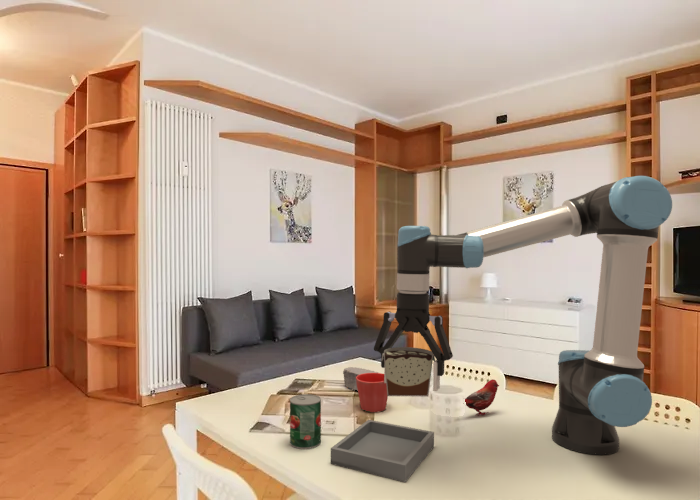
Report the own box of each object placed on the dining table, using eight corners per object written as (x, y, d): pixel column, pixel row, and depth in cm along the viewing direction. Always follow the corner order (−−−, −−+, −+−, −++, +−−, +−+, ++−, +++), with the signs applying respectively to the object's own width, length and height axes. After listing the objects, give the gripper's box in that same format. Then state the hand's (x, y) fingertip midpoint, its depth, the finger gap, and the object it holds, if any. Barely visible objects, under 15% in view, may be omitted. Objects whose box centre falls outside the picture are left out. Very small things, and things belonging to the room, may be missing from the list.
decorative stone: (375, 397, 151) (386, 388, 160) (374, 376, 151) (385, 368, 160) (336, 391, 157) (349, 383, 166) (336, 372, 157) (348, 364, 166)
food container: (429, 388, 108) (429, 346, 108) (434, 396, 102) (435, 352, 102) (378, 388, 108) (378, 346, 108) (380, 396, 102) (381, 351, 102)
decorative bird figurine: (502, 413, 134) (502, 379, 135) (455, 422, 127) (455, 387, 127) (495, 410, 137) (495, 377, 137) (449, 419, 129) (449, 384, 130)
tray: (434, 446, 111) (434, 431, 111) (405, 482, 94) (405, 465, 94) (368, 432, 120) (368, 419, 120) (330, 463, 102) (330, 448, 102)
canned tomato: (327, 443, 113) (327, 399, 113) (301, 452, 108) (301, 406, 108) (308, 433, 119) (308, 392, 119) (283, 441, 114) (283, 398, 114)
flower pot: (349, 411, 136) (349, 379, 137) (365, 400, 146) (365, 370, 146) (381, 416, 132) (381, 383, 132) (395, 405, 141) (395, 374, 141)
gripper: (467, 293, 103) (466, 389, 103) (373, 288, 114) (372, 374, 114) (459, 296, 96) (458, 398, 96) (360, 290, 107) (359, 382, 107)
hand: (411, 385), depth 105 cm, fingers closed on food container, 11 cm apart
